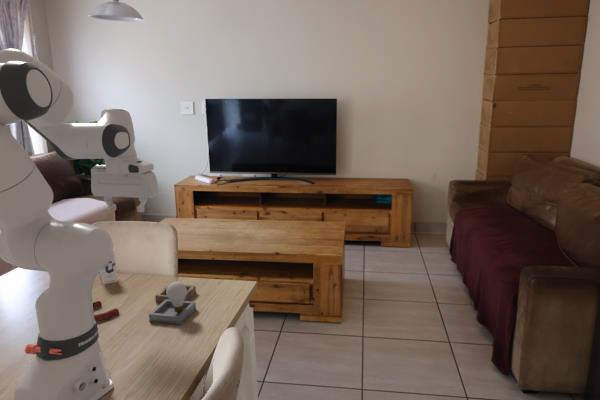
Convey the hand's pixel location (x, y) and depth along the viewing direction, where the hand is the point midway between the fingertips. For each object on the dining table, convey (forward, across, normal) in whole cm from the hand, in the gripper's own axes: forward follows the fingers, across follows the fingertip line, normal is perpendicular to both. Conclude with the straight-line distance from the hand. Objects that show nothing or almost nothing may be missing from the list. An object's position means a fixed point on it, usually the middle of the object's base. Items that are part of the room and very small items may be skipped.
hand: (126, 211), depth 136 cm
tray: (+31, +14, -3) cm, 34 cm away
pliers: (+32, -12, -11) cm, 36 cm away
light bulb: (+30, +16, -3) cm, 35 cm away
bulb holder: (+31, +9, +8) cm, 33 cm away
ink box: (+31, -23, +18) cm, 43 cm away
